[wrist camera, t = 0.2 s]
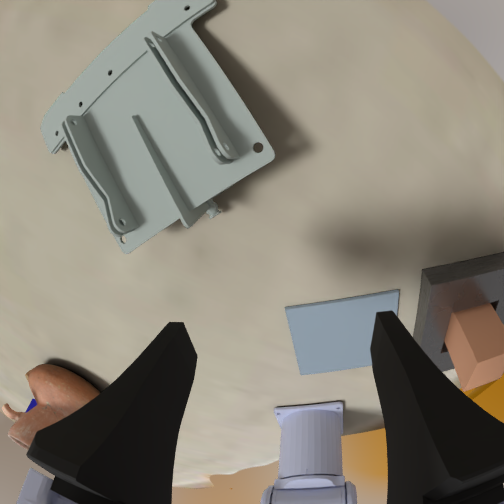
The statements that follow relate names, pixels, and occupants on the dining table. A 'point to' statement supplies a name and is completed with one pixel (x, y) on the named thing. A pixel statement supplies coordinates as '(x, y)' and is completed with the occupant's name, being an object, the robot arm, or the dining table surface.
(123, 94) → the metal bracket
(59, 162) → the dining table surface
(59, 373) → the ceramic jug
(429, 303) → the socket plate
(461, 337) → the square peg
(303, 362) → the rubber mat
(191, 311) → the dining table surface
